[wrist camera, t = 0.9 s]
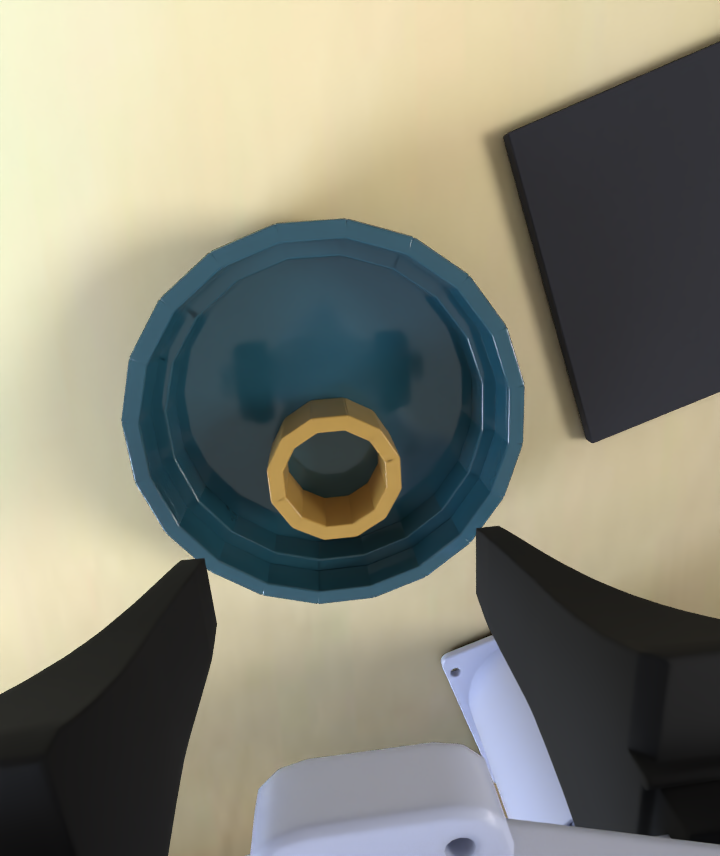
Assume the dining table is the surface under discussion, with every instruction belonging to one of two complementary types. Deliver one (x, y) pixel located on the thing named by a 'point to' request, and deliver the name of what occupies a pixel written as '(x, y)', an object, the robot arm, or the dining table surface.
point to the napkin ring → (344, 511)
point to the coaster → (631, 239)
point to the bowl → (314, 380)
